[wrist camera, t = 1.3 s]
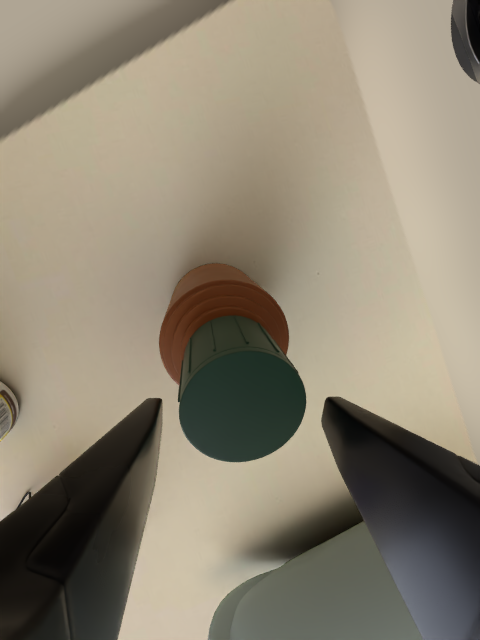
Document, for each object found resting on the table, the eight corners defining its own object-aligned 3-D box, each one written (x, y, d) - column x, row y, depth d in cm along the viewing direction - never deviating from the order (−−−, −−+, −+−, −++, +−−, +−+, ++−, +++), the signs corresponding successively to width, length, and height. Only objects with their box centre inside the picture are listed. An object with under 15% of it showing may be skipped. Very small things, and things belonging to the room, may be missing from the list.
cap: (236, 295, 11) (254, 323, 8) (292, 360, 13) (329, 408, 9) (163, 358, 12) (150, 411, 8) (225, 415, 13) (237, 482, 10)
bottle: (220, 243, 19) (257, 261, 8) (276, 310, 21) (369, 401, 10) (151, 305, 20) (92, 404, 8) (212, 364, 22) (231, 509, 10)
